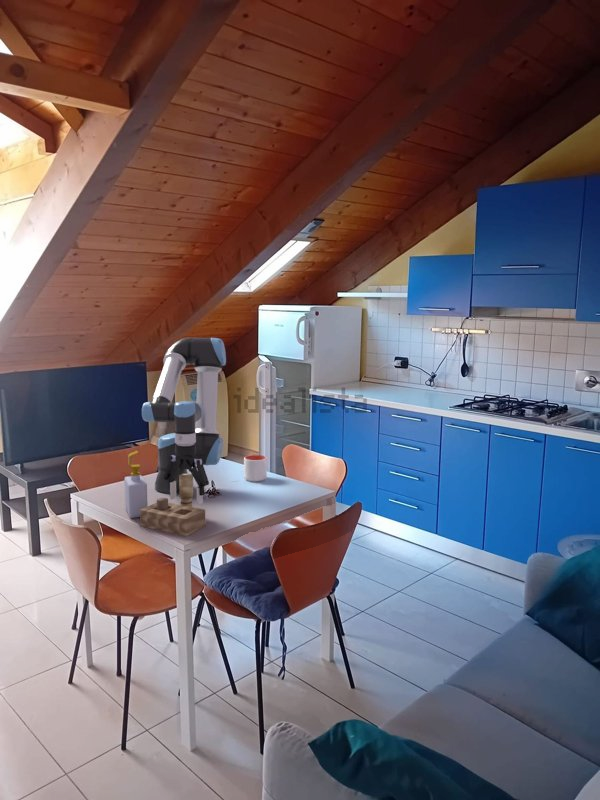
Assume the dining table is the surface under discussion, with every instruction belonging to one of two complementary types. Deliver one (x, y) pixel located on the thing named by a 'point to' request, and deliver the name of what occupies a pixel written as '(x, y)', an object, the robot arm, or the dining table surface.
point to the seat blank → (172, 517)
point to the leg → (186, 489)
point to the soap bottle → (135, 491)
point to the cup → (255, 468)
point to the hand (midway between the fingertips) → (186, 501)
